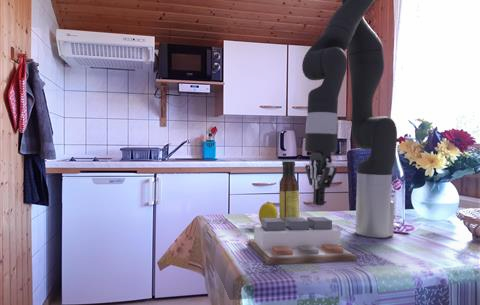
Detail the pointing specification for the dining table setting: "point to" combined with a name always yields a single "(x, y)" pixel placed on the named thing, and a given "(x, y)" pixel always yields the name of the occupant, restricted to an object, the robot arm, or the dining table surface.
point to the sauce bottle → (288, 192)
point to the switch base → (303, 254)
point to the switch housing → (295, 238)
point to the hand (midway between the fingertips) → (318, 204)
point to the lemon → (268, 211)
